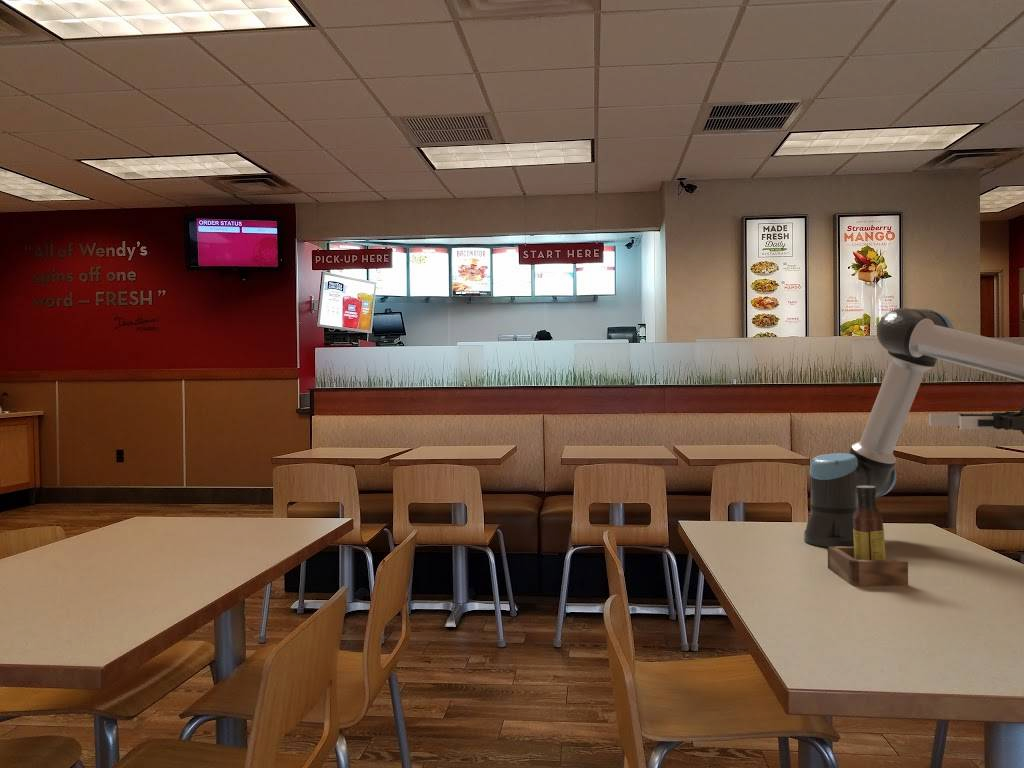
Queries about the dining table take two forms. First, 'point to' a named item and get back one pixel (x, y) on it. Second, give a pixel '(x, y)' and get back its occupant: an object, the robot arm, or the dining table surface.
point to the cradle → (866, 568)
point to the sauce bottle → (868, 526)
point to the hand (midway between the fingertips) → (944, 421)
